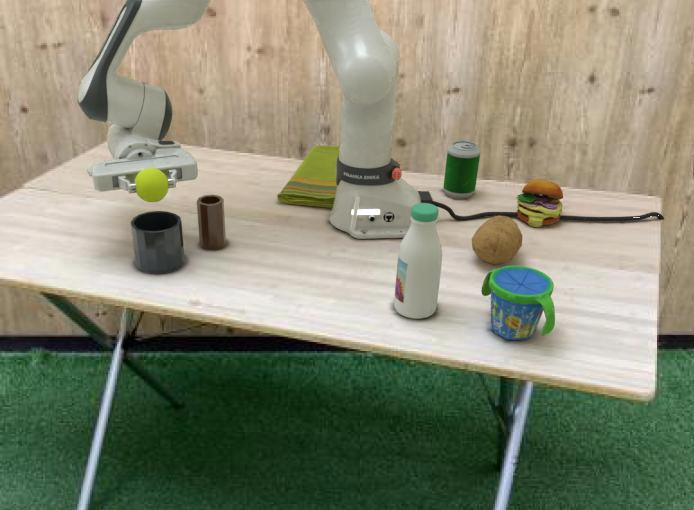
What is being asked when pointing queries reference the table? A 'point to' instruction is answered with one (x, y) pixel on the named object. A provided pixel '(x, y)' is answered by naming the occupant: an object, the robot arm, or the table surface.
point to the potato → (497, 240)
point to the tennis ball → (151, 185)
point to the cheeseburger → (540, 203)
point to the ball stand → (211, 222)
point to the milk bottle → (419, 265)
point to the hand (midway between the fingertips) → (152, 186)
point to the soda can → (461, 169)
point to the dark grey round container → (158, 242)
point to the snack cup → (519, 301)
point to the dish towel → (313, 179)
